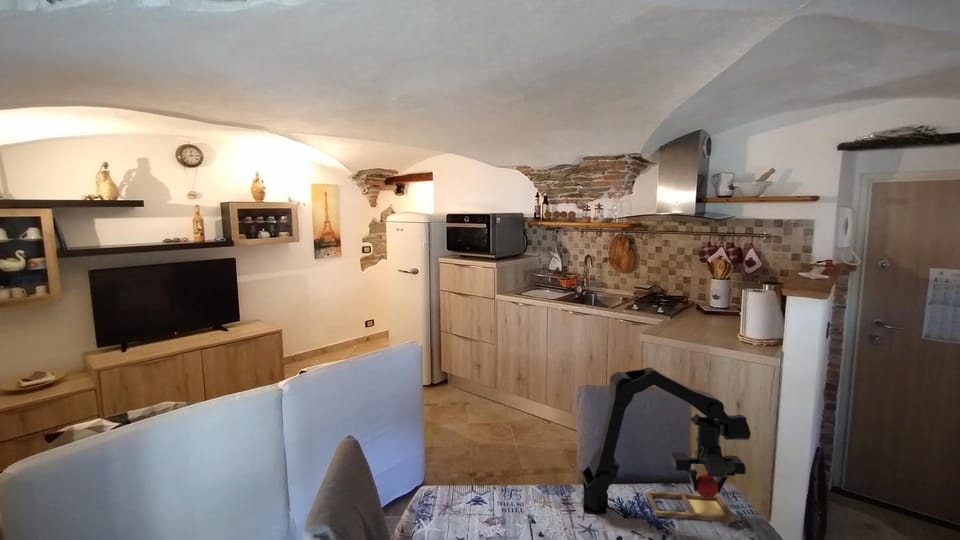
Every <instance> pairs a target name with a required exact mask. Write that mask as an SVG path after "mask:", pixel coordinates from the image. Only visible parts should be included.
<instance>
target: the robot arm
mask: <svg viewBox="0 0 960 540" xmlns="http://www.w3.org/2000/svg"><path fill="white" fill-rule="evenodd" d="M653 386H655V387H657V388H659V389H660V390H661V389H662V390H663V391H665V392H667V393H669V394H671V395H672V396H675V397H677V398H679V399H681V400H683V401H685V402H686V403H689V404H690V406H692V407H693V408H695V409H696V410H698V411H699V412H700V413H701V414H703V415H704V416H700V414H698V413H696V414H695V415H694V416H691V417H690V418H689V421H690V422H692V424H693V425H694V426H697V435H696V437H695V441H696V450H695V456H696V457H689V456H688V455H687V453H686V452H675V451H674V452H672V453H671V455H670V462H671V464H672V465H673V467H674V468H675V470H677V471H685V473H687V474H688V476H689V480H690V483H691V486H692V488H693V491H694V492H697V475H698V471H697V470H696V466H700V467H701V466H702V467H704V468H705V473H706V472H707V474H708V475H709V476H711V477H713V478H715V481H716V482H717V485H718V492H717V494H720V493H721V492H722V491H721V490H722V488H723V487H724V484H725V483H726V481H727V480H728V478H730V477H734V476H735V475H746V474H747V466H746V464H745V462H743V460H741V459H740V457H738V455H729V454H727V455H724V456H723V453H722V446H721V445H720V442H721V441H720V440H721V439H720V436H721V437H723V439H725V440H726V441H748V440H750V437H751V435H752V434H751V430H750V426H749V423H748V421H747V417H746V416H745V415H743V414H737V415H736V414H733V415H728V414H727V413H726V411H725V407H724V406H725V405H724V403H723V402H722V401H720V400H719V399H718V398H716V396H714V395H713V394H711V393H709V392H707V391H702V390H701V389H694V388H691V387H689V386H687V385H685V384H683V383H680V382H679V381H677V380H674V379H673V378H671V377H669V376H667V375H666V374H663V373H661V372H659V371H657V369H655V368H654V367H645V368H642V369H635V370H633V369H632V370H628V371H624V372H622V371H616V372H615V373H612V375H611V376H610V378H609V387H608V388H609V389H608V391H609V405H608V410H607V412H606V414H607V415H606V418H605V422H604V426H603V429H602V430H603V431H602V434H601V438H600V443H599V447H598V449H597V450H596V451H595V452H594V453H593V456H592V457H591V459H590V462H589V465H588V466H587V467H585V469H584V470H582V471H581V475H582V478H583V480H584V482H582V498H581V504H582V508H583V513H585V514H586V513H587V514H603V515H607V514H608V509H609V493H608V490H609V487H610V486H612V485H613V483H614V482H615V480H617V479H618V478H617V476H618V475H617V474H618V472H619V470H620V464H619V463H618V461H617V459H616V457H615V453H616V449H617V445H618V441H619V437H620V433H621V429H622V425H623V420H624V416H625V413H626V410H627V408H628V406H629V405H631V403H632V401H633V399H634V397H635V394H638V393H642V392H643V391H645V390H647V389H648V388H650V387H653Z"/></svg>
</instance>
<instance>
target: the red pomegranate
mask: <svg viewBox="0 0 960 540" xmlns="http://www.w3.org/2000/svg"><path fill="white" fill-rule="evenodd" d="M696 479H697V491H696V492H697V494H700V495H701V496H702V497H703V498H705V499H709V498H712V497H714V496H715V495H717V494H718V493H717V492H718V485H717V482H716V478H715V477H711V476H709V475H708V474H707V472H706V471H705V473H703V474H701V475H699V476H697V477H696Z"/></svg>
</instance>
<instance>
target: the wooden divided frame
mask: <svg viewBox="0 0 960 540" xmlns="http://www.w3.org/2000/svg"><path fill="white" fill-rule="evenodd" d="M645 496H646V498H647V499H648V503H649V505H650V507H651V510H652V512H653V514H654V516H655V517H656V518H657V517H658V518H659V517H660V518H670V519H671V518H673V519H685V520H686V519H688V520H704V521H713V522H715V521H716V522H717V521H718V522H730V523H734V522H736V517H735V516H734V514H733V513H732V511H731V510H730V509H729V507H728V506H727V504H726V503H725V501H724V500H723V499H722V497H721V496H720V495H719V494H718V495H717V494H716V495H715V496H714V497H712V498H709V499H705V498H703V497H702V496H701V495H700V494H699V493H685V492H683V493H682V492H669V491H654V490H653V491H652V490H646V491H645ZM654 498H664V499H665V498H666V499H667V498H668V499H681V501H682V502H683V504H684V506H685V508H686V510H687V511H688V512H684V511H670V510H667V511H666V510H659V508H658V506H657V505H656V503H655V500H654Z"/></svg>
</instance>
